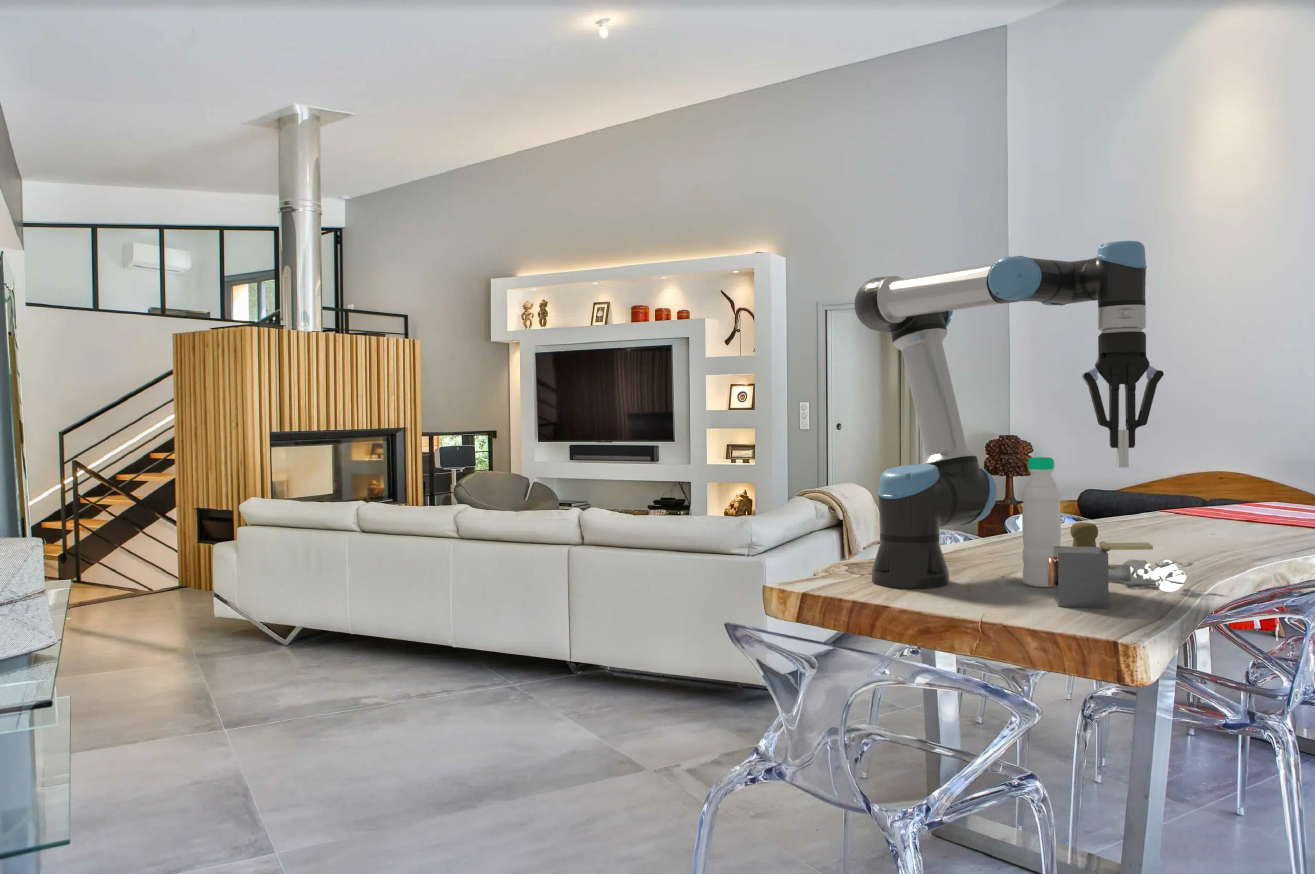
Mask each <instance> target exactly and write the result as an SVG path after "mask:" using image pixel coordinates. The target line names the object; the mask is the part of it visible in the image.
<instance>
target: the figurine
mask: <svg viewBox="0 0 1315 874" xmlns="http://www.w3.org/2000/svg"><path fill="white" fill-rule="evenodd" d="M1194 563H1195V562H1187V563H1182V562H1179V561H1175V560H1172V561H1171V560H1169V559H1164V560H1163V561H1162V562H1158V563H1157V562H1154V565H1155V566H1156V567H1157V568H1155V569H1154V568H1152V566H1151V563H1148V561H1146V560H1144V559H1133V558H1132V559H1131V558H1130V559H1127V560H1124V561H1123V563H1122V564H1121V565H1130V569H1131V581H1130V582H1122V584H1123V585H1125V586H1127V587H1133V586H1144V585H1150V587H1152V590H1156V591H1163V592H1170V593H1172V592H1175V591H1178V590H1179V589H1180V588H1182V587H1183V586H1184V585H1185V583H1186V579H1187V574H1186V573H1185V572H1184V571H1183V570H1182V569H1180V568H1188V567H1191V566H1193V565H1194ZM1178 567H1180V568H1178ZM1151 584H1156V585H1151ZM1154 587H1156V588H1154Z"/></svg>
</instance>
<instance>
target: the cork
mask: <svg viewBox="0 0 1315 874" xmlns="http://www.w3.org/2000/svg"><path fill="white" fill-rule="evenodd" d="M1070 535H1071V538H1073V540H1072V546H1076V547H1097V543H1096V540H1097V537H1098V536H1099V529H1098V526H1097V525H1096V524H1095V523H1091V522H1083V521H1082V522H1075V523H1073V524H1072V525H1071V526H1070Z"/></svg>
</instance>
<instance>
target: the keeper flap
mask: <svg viewBox="0 0 1315 874" xmlns="http://www.w3.org/2000/svg"><path fill="white" fill-rule="evenodd" d="M1098 547H1101V548H1102V549H1103V550H1104V551H1106V552H1107V553H1108V552H1110V551H1113V550H1114V551H1121V550H1122V551H1126V550H1127V551H1128V550H1129V551H1131V550H1133V551H1134V550H1135V551H1136V550H1137V551H1138V550H1140V551H1141V550H1143V551H1145V550H1147V551H1150V550H1154V545H1152V544H1151V543H1149V542H1106V541H1104V540H1103V541H1099V545H1098Z"/></svg>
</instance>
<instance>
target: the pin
mask: <svg viewBox="0 0 1315 874" xmlns="http://www.w3.org/2000/svg"><path fill="white" fill-rule="evenodd" d="M1047 580H1048V586H1056V585H1057V563H1056V557H1048V558H1047ZM1130 581H1131V569H1130V565H1122V564H1112V563H1111V564H1109V563H1108V583H1111V582H1112V583H1113V582H1114V583H1116V582H1117V583H1123V582H1130Z"/></svg>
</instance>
